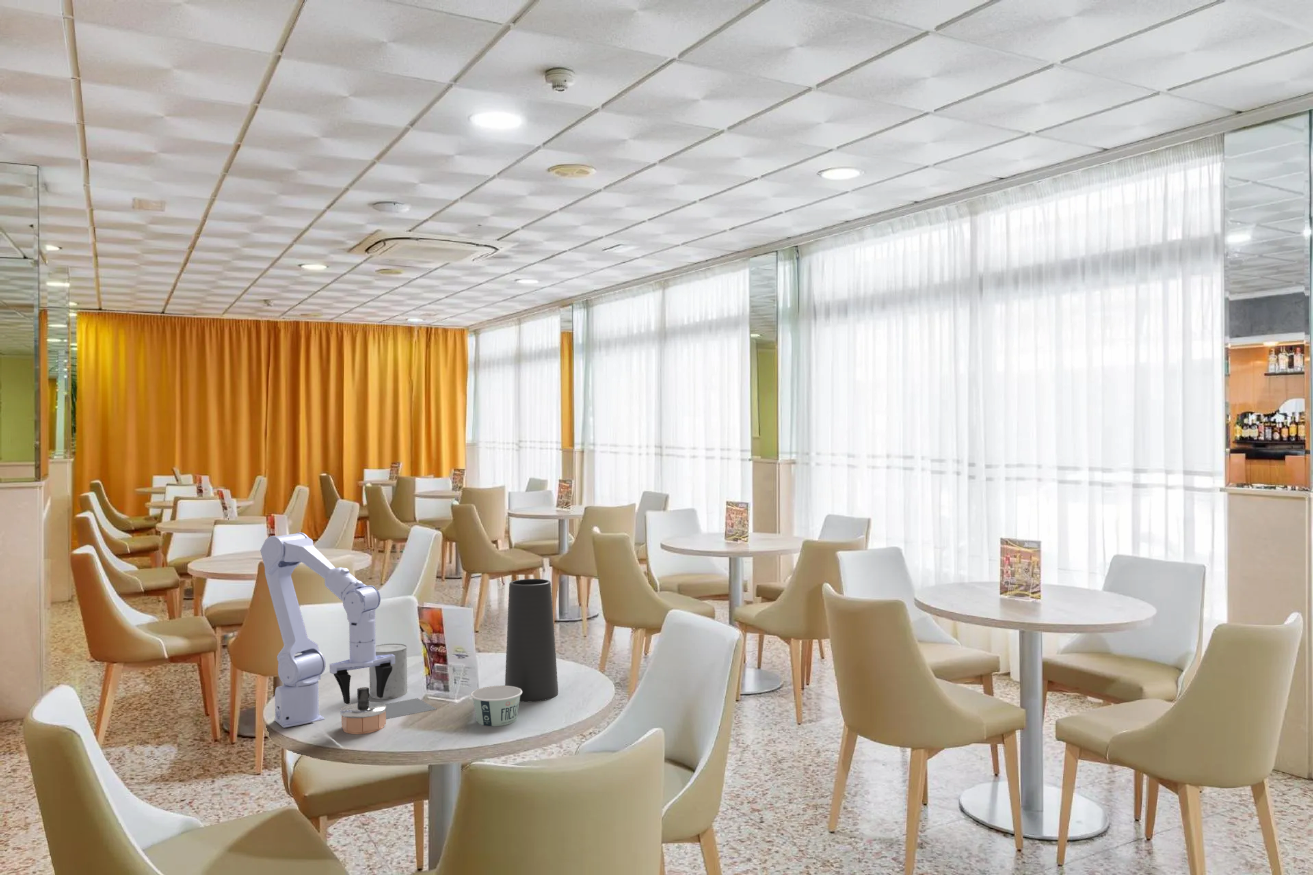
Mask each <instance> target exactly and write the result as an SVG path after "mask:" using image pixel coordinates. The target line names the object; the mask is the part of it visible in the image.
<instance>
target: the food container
mask: <svg viewBox="0 0 1313 875" xmlns="http://www.w3.org/2000/svg"><path fill="white" fill-rule="evenodd" d="M521 694H522V690H521V689H520V688H517V687H513V686H505V685H488V686H484V687H480V688H476V689H475V690H473V691H471V693H470V697H471V698H472V701H473V707H474V713H475V718H476V723H477V724H478V725H481V726H484V727H485V726H487V727H500V726H507V725H510V724H513V723H515V722H516V721H517V719H518V713H519V704H520V702H521V701H520V695H521Z"/></svg>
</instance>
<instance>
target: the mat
mask: <svg viewBox="0 0 1313 875" xmlns="http://www.w3.org/2000/svg"><path fill="white" fill-rule="evenodd" d="M384 704H385V705H386V720H388V719H394V718H395V719H396V718H399V717H404V716H410V715H415V714H419V713H423V712H424V713H425V712H429V711H435V710H437V708H436V707H434V706H433V705H431V704H429V703H427V702H425V701H424V700H422V699H420V698H418V697H416V698H411V699H406V700H401V701H400V700H399V701H396V702H389V703H384Z"/></svg>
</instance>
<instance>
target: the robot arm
mask: <svg viewBox="0 0 1313 875" xmlns="http://www.w3.org/2000/svg"><path fill="white" fill-rule="evenodd" d="M260 554H261V558H262V562H263V566H264V575H265V579H266V582H267V583H266V584H267V587H268V590H269V596H270V598H271V602H272V606H273V610H274V614H275V616H276V620H277V624H278V629H279V631H280V635H281V639H282V643H283V647H282V648H281V650H280V651H279V652H278V653H277V656H276V660H277V662H278V664H277V674H278V678H279V680H280V681H281V682H282V684H283V685H280V686H277V687H276V688H275V691H274V722H276V723H277V724H278V725H280V726H281V727H282V728H283V729H284V728H285V729H286V728H290V727H295V726H300V725H306V724H312V723H314V722H319V721H325V720H326V719H325V717H324V716H323V715H321V714H320V708H319V706H320V703H319V701H320V700H319V698H320V697H319V696H320V695H319V694H320V693H319V692H320V691H319V681H320V680H321V679H322V678H321V676H322V675H323V673H324V672H325V671H326V659H325V656H324V655H323V654H322V652H321V650H320V648H319V644H318V643H316V642H315V641H313V640H312V639H310V638H309V637H308V634H307V629H306V626H305V622H304V619H303V615H302V612H301V608H300V607H301V606H300V604H299V601H298V597H297V593H296V590H295V586H294V581H293V578H292V574H293V572H294V570H295V569H296V568H297V567H298V566H299V565H300V564H301V563H302V564H303V565H305V566H306V567H308V568H309V570H312V571H313V572H314V573H316V574H317V575H319V576H320V577H321V578H323V579H324V586H325V588H327V589H328V590H329V591H330V592H331V593H332V594H334V595H335V596H336V597H337V599H339V600H340V601H342V606H343V609H344V611H345V612H346V618H347V620H348V625H349V627H348V628H349V630H348V633H349V636H348V637H349V640H348V642H349V659H344V660H341V661H338V662H333V663H329V673H331V674H332V675H333V676H334V678H335V680H336V682H337V684H338V686H339V688H340V692H341V695H342V699H343V703H344V704H346V705H350V703H351V698H350V697H351V695H350V694H351V693H350V692H351V691H350V687H351V686H350V685H351V677H352V676H351V674H349V671H353V670H354V671H355V670H361V669H368V668H369V667H373V666H375V671H376V680H377V689H376V692H377V696H378V697H379V698H383V693H384V689H385V685H386V682H387V680H388V677H389V675H390V673H391V672H392V666H391V664H395V655H393V654H389V655H378V656H376V645H377V643H376V641H377V640H376V639H377V636H376V630H377V629H376V610H377V609H378V608H379V607H380V604H381V595H380V592H379V591H378V589H377V588H376V587H375V585H373V584H372V585H370V584H369V585H366V584H365V583H363V582H362V580H358V579H357V578H356V577H355V576H354V575H353V574H352V573H350V570H349V569H348V568H347V567H341V566H340V567H335V565H333V564H332V563H331V561H330V560H329V559H328V558H326V556H324V554H322V553H321V551H320V550H318V548H316V547H315V546H314V541H313V539H312V538H310V537H309V536H308V535H307V534H306V533H304V532H300V531H299V532H296V533H289V534H283V535H271V536H269V537H267V538H266V539H265V540H264V541H263V544H262V545H261V548H260ZM296 654H297V655H296Z"/></svg>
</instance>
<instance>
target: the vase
mask: <svg viewBox="0 0 1313 875" xmlns="http://www.w3.org/2000/svg"><path fill="white" fill-rule="evenodd" d="M551 583H552V582H551V580H548V579H543V578H542V579H541V578H525V579H523V578H522V579H516V580H512V581H510V582H509V585H508V598H507V599H508V600H507V601H508V604H507V606H508V607H507V624H506V625H507V629H506V631H507V632H506V648H505V650H506V651H505V653H506V654H505V675H504V677H505V678H504V686H513V687H517V688H520V689H521V690H522V694H521V695H520V701H519V702H522V701H524V702H523V703H525V702H527V703H529V702H528V701H532V702H540V700H541V701H546V700H550V699H553V698H555V697H556V696H558V694H559V682H558V667H557V653H556V640H555V639H556V638H555V626H554V624H555V622H554V612H553V607H554V606H553V596H552V594H553V593H552V585H551ZM552 697H553V698H552ZM545 699H546V700H545Z"/></svg>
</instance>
